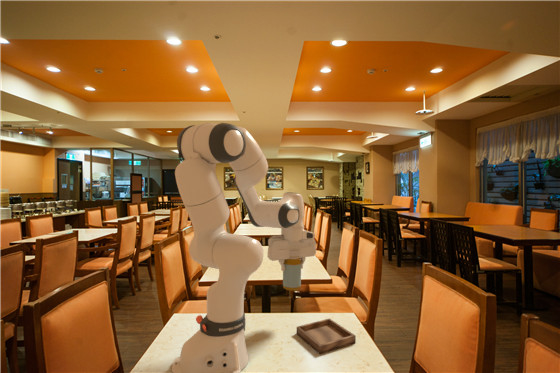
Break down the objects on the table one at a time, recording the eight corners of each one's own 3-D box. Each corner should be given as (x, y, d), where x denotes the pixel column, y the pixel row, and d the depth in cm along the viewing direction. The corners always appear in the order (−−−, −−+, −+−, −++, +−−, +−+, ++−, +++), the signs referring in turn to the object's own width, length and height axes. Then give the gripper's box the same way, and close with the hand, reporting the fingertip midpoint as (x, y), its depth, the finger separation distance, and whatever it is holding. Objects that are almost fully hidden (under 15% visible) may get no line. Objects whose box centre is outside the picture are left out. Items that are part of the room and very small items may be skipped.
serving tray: (320, 354, 95) (320, 346, 95) (296, 333, 108) (296, 326, 108) (355, 342, 102) (355, 335, 102) (329, 324, 115) (329, 318, 115)
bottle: (300, 285, 120) (301, 247, 120) (300, 291, 113) (301, 251, 113) (283, 284, 121) (283, 247, 121) (282, 290, 114) (282, 251, 114)
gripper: (272, 237, 109) (271, 275, 109) (318, 233, 119) (318, 268, 119) (264, 234, 115) (264, 270, 115) (309, 231, 124) (309, 264, 124)
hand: (292, 269), depth 117 cm, fingers closed on bottle, 6 cm apart
